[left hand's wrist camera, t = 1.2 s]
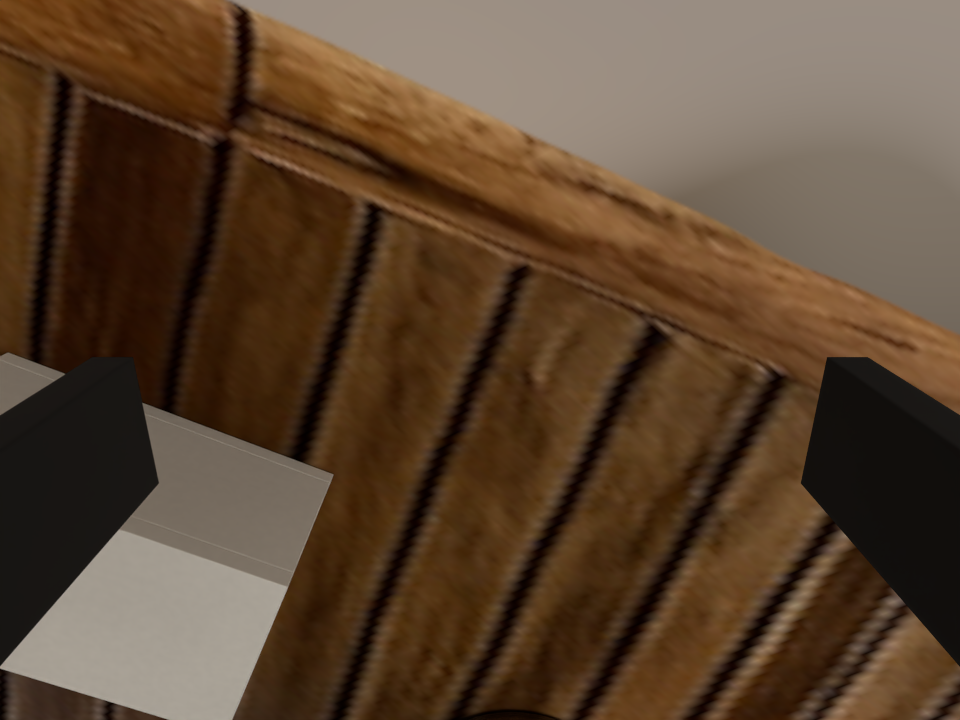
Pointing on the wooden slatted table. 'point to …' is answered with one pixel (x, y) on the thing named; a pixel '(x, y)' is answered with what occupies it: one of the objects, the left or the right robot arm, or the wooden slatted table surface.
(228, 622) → the cabinet
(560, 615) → the wooden slatted table surface
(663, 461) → the wooden slatted table surface
